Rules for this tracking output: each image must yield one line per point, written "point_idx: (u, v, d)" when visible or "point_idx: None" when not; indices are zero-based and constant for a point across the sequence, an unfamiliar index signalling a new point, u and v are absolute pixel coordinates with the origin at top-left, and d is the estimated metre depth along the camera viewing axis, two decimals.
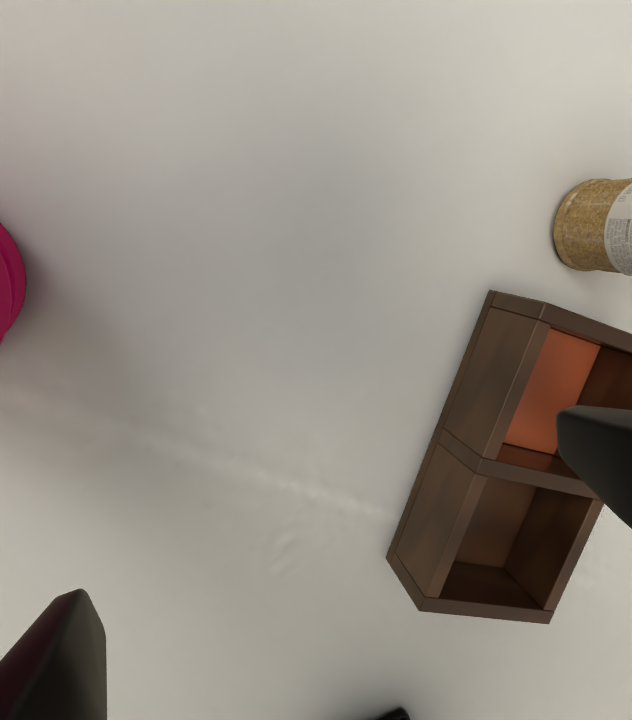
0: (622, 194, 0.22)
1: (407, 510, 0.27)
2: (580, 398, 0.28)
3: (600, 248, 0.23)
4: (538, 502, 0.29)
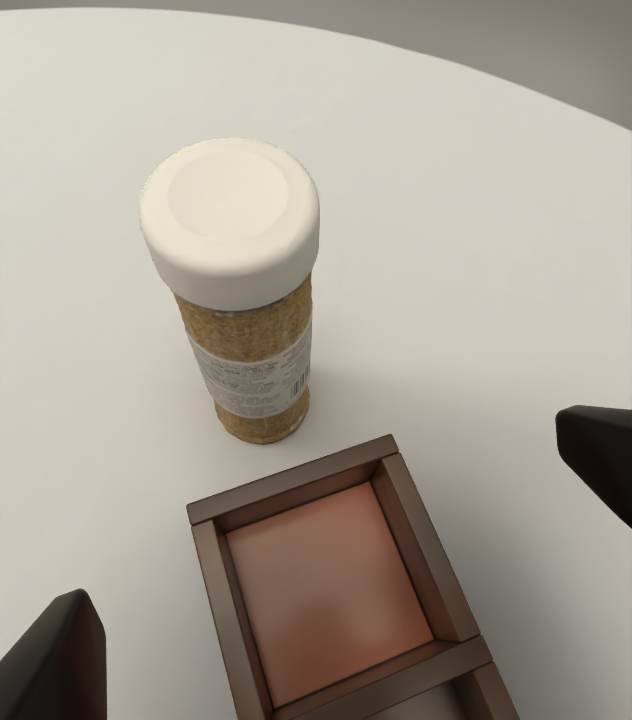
0: None
1: None
2: (398, 549, 0.21)
3: (234, 415, 0.21)
4: None
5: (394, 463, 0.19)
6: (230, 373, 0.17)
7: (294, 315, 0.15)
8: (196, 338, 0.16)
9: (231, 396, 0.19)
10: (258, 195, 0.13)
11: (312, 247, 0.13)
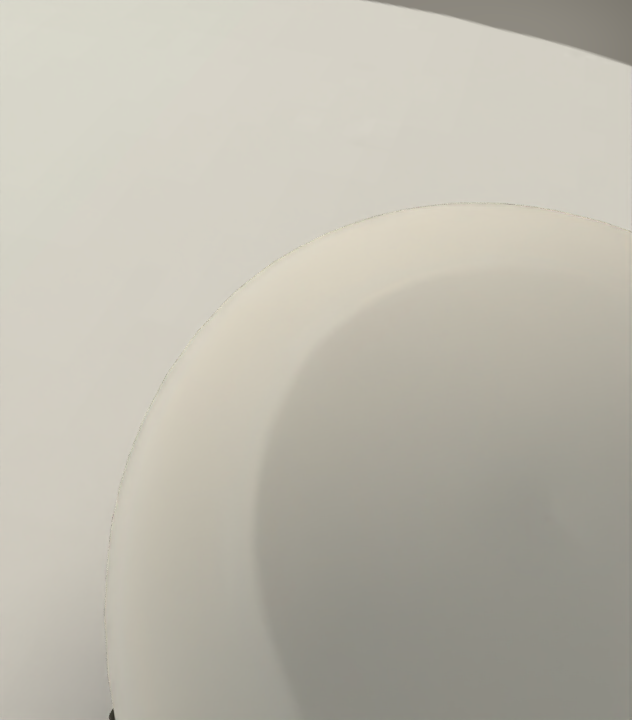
0: None
1: None
2: None
3: None
4: None
5: None
6: None
7: None
8: None
9: None
10: None
11: None
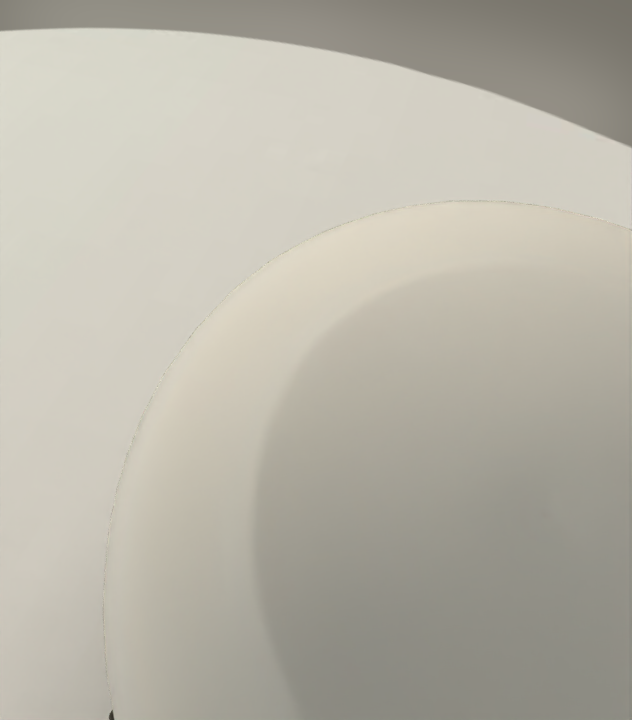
0: None
1: None
2: None
3: None
4: None
5: None
6: None
7: None
8: None
9: None
10: None
11: None
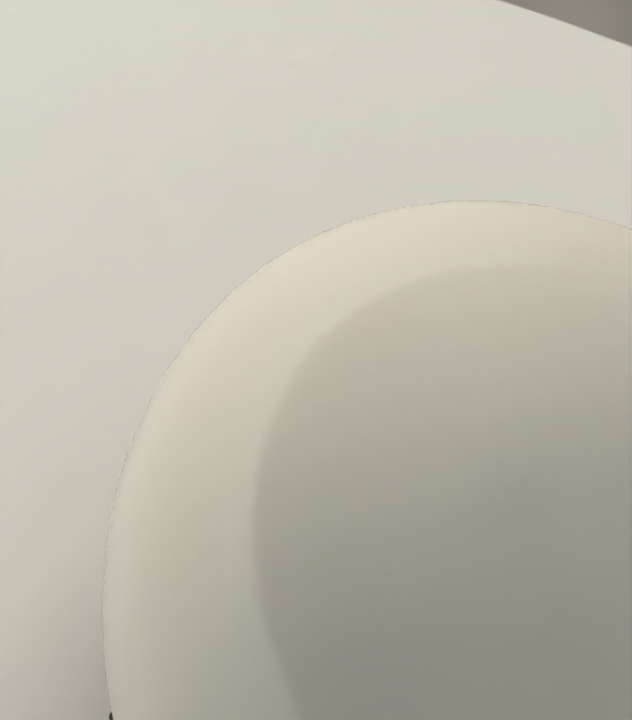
0: None
1: None
2: None
3: None
4: None
5: None
6: None
7: None
8: None
9: None
10: None
11: None
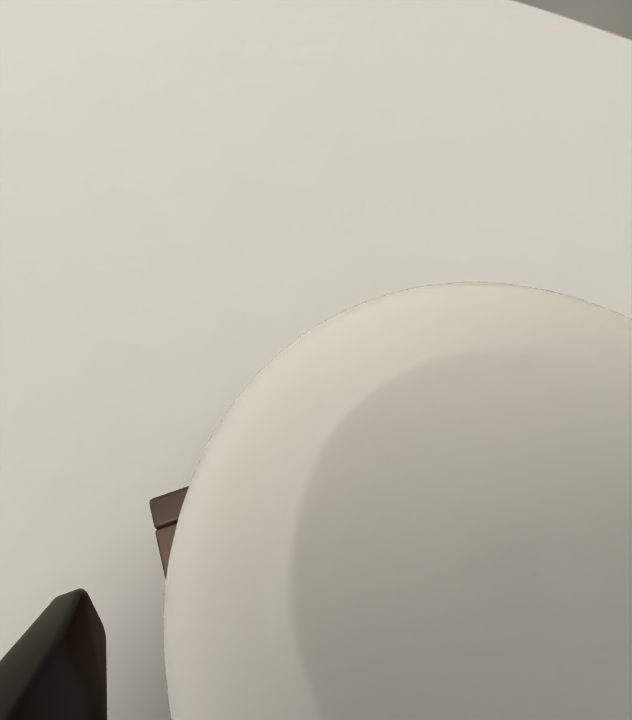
0: None
1: None
2: None
3: None
4: None
5: None
6: None
7: None
8: None
9: None
10: None
11: None
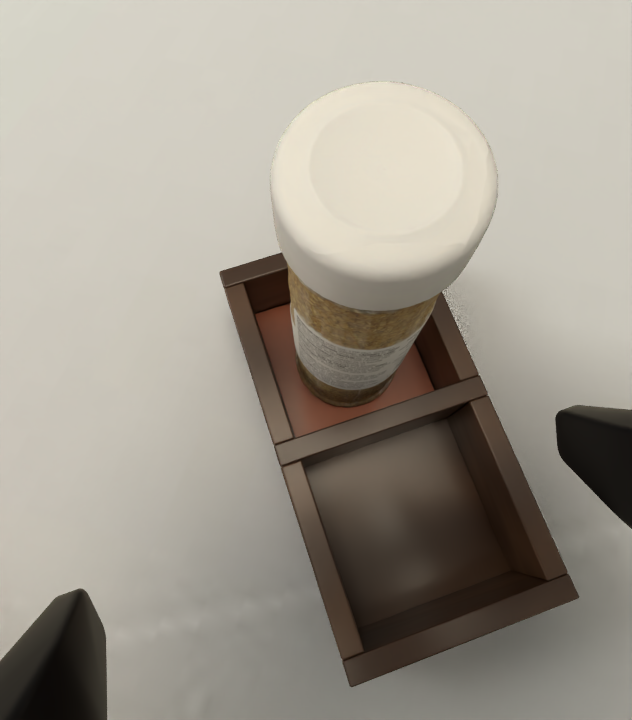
0: None
1: None
2: None
3: (326, 385, 0.19)
4: (467, 460, 0.21)
5: None
6: (343, 357, 0.15)
7: (433, 301, 0.13)
8: (310, 322, 0.14)
9: (333, 372, 0.17)
10: (424, 169, 0.10)
11: (483, 234, 0.10)
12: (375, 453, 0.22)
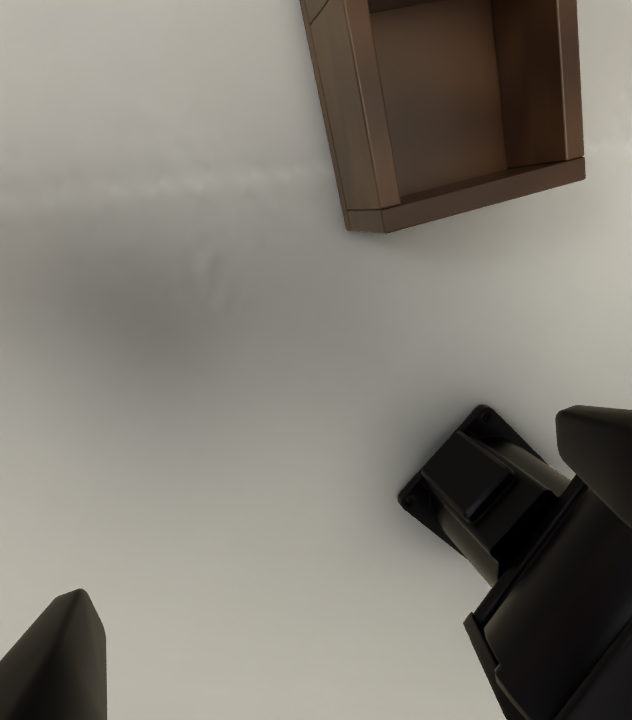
0: None
1: (332, 149, 0.20)
2: None
3: None
4: (502, 45, 0.20)
5: None
6: None
7: None
8: None
9: None
10: None
11: None
12: (409, 20, 0.19)
